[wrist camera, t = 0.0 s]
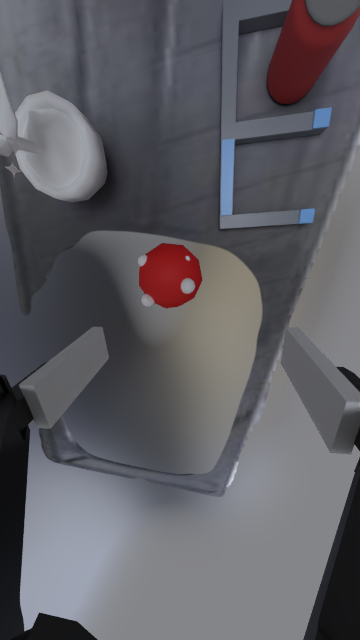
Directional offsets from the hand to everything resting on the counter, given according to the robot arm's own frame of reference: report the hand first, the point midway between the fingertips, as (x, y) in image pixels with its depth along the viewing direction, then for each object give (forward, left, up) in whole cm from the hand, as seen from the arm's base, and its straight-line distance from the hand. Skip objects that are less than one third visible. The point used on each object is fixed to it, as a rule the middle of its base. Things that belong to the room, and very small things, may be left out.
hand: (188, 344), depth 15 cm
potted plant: (-20, -19, -28) cm, 39 cm away
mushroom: (-1, -5, -28) cm, 29 cm away
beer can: (-27, +13, -28) cm, 41 cm away
